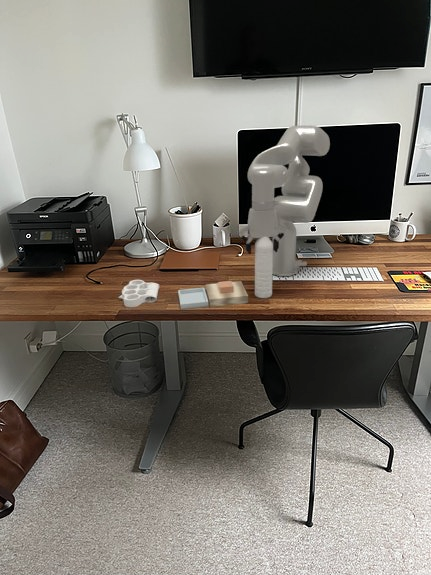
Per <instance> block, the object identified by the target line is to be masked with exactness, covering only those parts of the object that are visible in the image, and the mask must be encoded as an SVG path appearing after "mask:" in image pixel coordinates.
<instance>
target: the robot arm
mask: <svg viewBox="0 0 431 575" xmlns="http://www.w3.org/2000/svg"><path fill="white" fill-rule="evenodd" d="M285 130H286V131H285V132H284V133H283V135H282V136H281V137H280V139H279V141H278V143H277V144H276V145H275V146H272V147H270V148H268V149H266V150H264V151H262V152H261V153H259V154H257V156H256V157H255V158H254V159H253V161H252V162H251V164H250V165H249V168H248V171H247V180H248V182H249V183H250V184H251V185H252V186H251V194H252V195H251V207H250V208H249V211H248V216H247V217H248V219H247V225H246V226H245V227H243V228H241V229H240V230H238V234H239V236H240V238H241V239H242V240H243V241H244V242H245V251H246V252H247V253H248V255H251V254H252V243H251V242H252V241H253V239H258V238H262V237H269V238H272V243H273V263H272V264H273V268H272V274H274V275H273V276H275V275H277V276H276V277H281V276H288V277H292V276H291V275H293V276H295V275H294V274H296V273H297V274H298V273H299V272H298V271H299V270H300V267H307V264H308V263H307V261H303V260H301V259H300V260H299V259H298V260H297V259H296V252H297V251H296V250H297V249H296V248H297V229H296V226H295V224H294V223H305V224H307V223H311V222H312V221H313V220H314V218H315V216H316V212H317V209H318V206H319V205H320V204H319V203H320V201H321V197H322V193H323V187H324V186H323V181H322V178H320V177H319V176H317V175H309V174H310V171H311V170H310V166H309V164H308V162H307V161H306V160H305V158H303V156H314V157H315V156H317V157H322V156H325V155H327V153H328V152H329V150H330V146H331V143H330V137H329V135H328V134H327V133H326V132H325V131H324V130H323V129H322V128H321V127H320V126H317V125H292V126H289V127H288V128H287V129H285ZM286 165H288V167H286ZM276 188H281V194H282V195H277V196H276V197H275V189H276ZM246 232H247V234H248V235H247V236H246V235H244V234H245V233H246ZM297 274H296V275H297Z"/></svg>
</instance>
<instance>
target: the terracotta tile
mask: <svg viewBox="0 0 431 575" xmlns="http://www.w3.org/2000/svg"><path fill="white" fill-rule="evenodd" d="M232 282H233V281H232V280H226V281H218V282H217V283H218V288H219V291H220V294H221V293H230V292H234V286H233V284H232Z"/></svg>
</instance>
